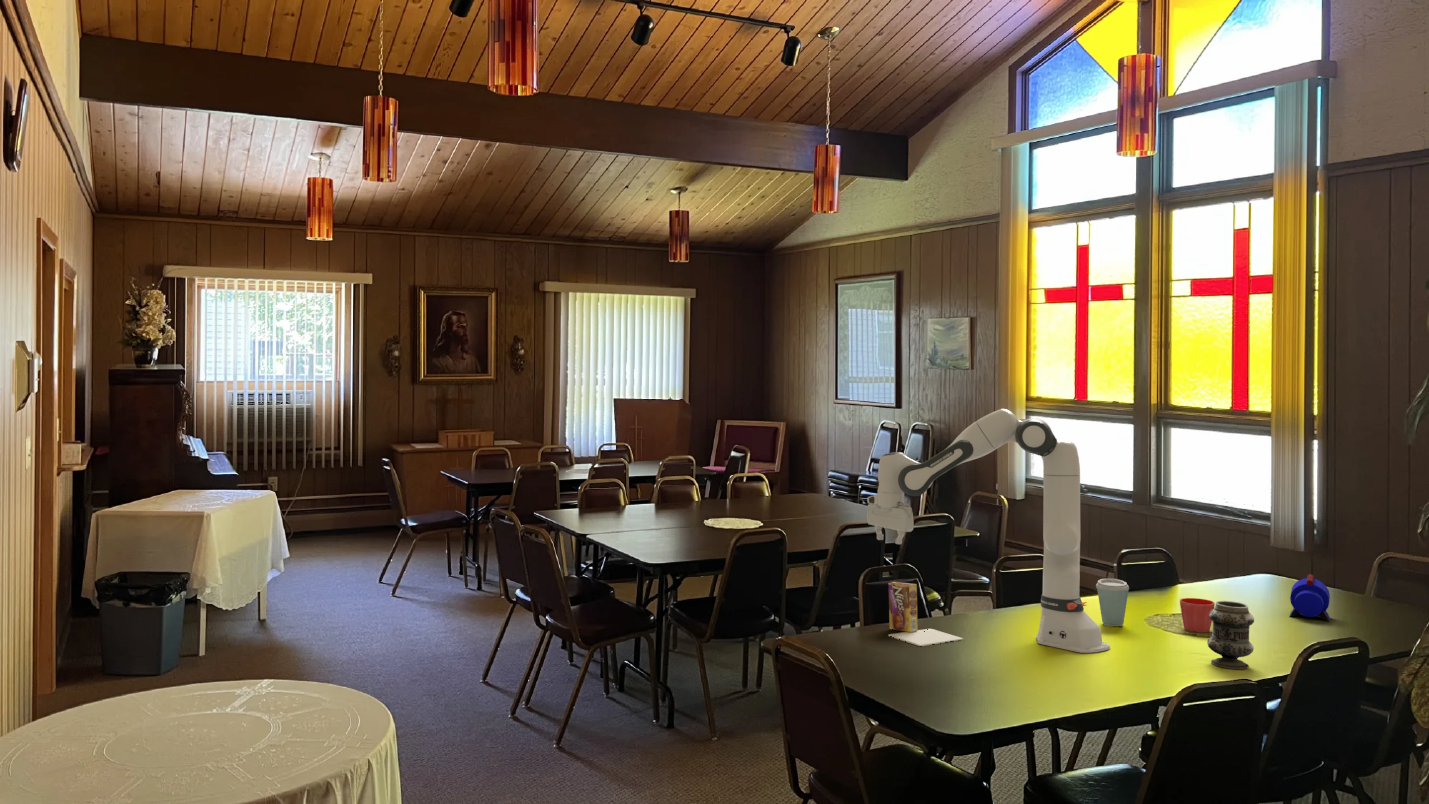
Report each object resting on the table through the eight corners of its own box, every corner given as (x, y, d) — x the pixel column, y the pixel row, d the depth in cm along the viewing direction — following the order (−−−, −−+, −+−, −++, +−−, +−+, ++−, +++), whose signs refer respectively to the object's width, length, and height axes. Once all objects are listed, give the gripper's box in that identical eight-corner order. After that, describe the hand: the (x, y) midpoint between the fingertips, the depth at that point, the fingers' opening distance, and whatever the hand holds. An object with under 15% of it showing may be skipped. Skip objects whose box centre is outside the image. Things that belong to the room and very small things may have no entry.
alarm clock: (1329, 616, 363) (1330, 575, 362) (1329, 623, 352) (1329, 580, 352) (1290, 612, 369) (1291, 571, 369) (1288, 618, 359) (1289, 576, 359)
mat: (963, 640, 320) (963, 638, 320) (920, 646, 310) (920, 645, 310) (930, 630, 333) (930, 628, 333) (888, 636, 323) (888, 634, 323)
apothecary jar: (1251, 673, 286) (1252, 609, 286) (1204, 666, 293) (1205, 604, 293) (1254, 663, 297) (1256, 602, 296) (1209, 657, 303) (1210, 597, 303)
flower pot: (1180, 631, 336) (1180, 602, 335) (1178, 624, 346) (1178, 596, 346) (1215, 635, 332) (1216, 605, 331) (1212, 628, 342) (1213, 599, 342)
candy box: (918, 631, 328) (917, 583, 329) (910, 632, 326) (908, 585, 326) (897, 627, 335) (896, 581, 336) (888, 629, 333) (887, 582, 333)
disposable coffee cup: (1133, 628, 338) (1134, 584, 338) (1101, 628, 339) (1102, 583, 339) (1121, 621, 349) (1122, 578, 349) (1090, 621, 349) (1091, 577, 349)
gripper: (918, 503, 329) (917, 546, 330) (878, 496, 347) (877, 536, 347) (904, 504, 326) (902, 547, 326) (864, 497, 344) (862, 537, 344)
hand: (889, 541), depth 337 cm, fingers open, 8 cm apart
